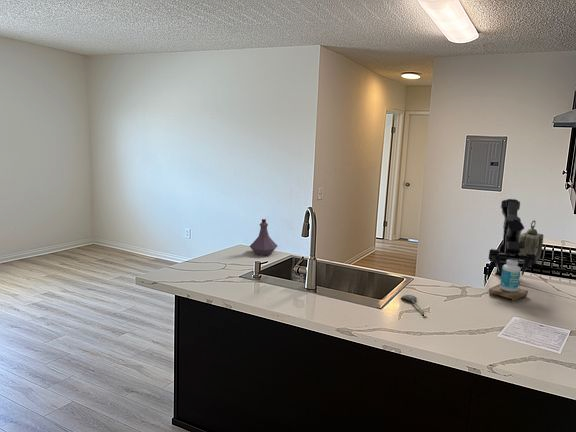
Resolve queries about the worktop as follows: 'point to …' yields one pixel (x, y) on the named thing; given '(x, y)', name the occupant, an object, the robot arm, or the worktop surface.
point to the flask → (263, 241)
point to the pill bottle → (510, 276)
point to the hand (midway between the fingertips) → (511, 273)
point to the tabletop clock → (531, 243)
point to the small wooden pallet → (508, 293)
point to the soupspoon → (412, 298)
